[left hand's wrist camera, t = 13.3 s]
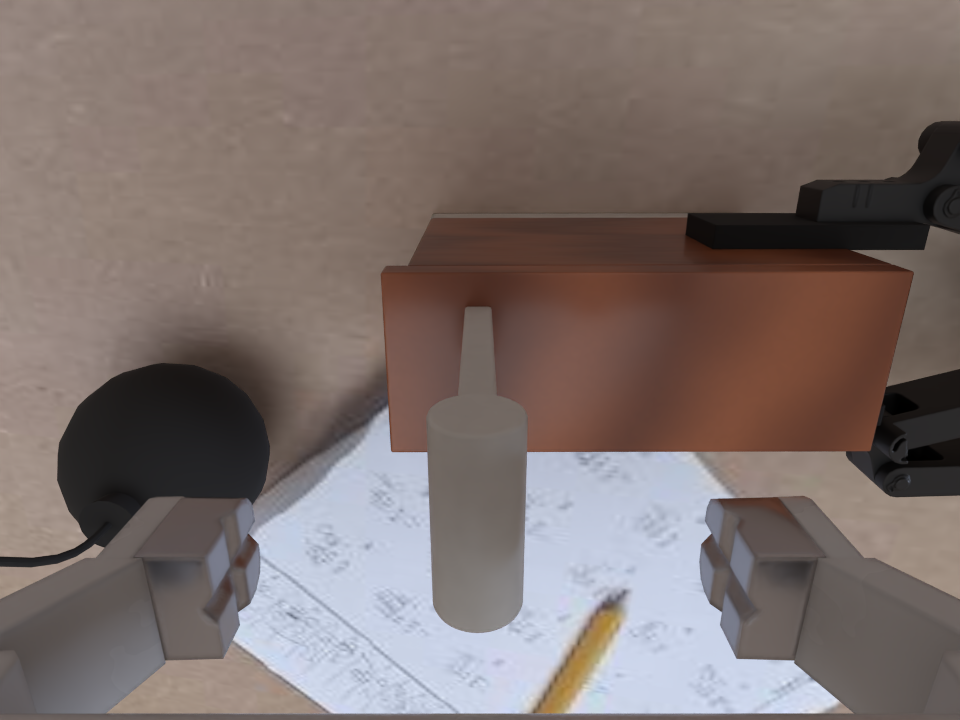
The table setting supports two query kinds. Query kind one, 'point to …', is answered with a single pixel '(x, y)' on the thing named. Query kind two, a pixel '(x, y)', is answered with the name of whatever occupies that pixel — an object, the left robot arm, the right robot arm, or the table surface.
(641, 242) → the chest
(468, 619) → the lid
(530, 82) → the table surface
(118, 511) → the bomb
